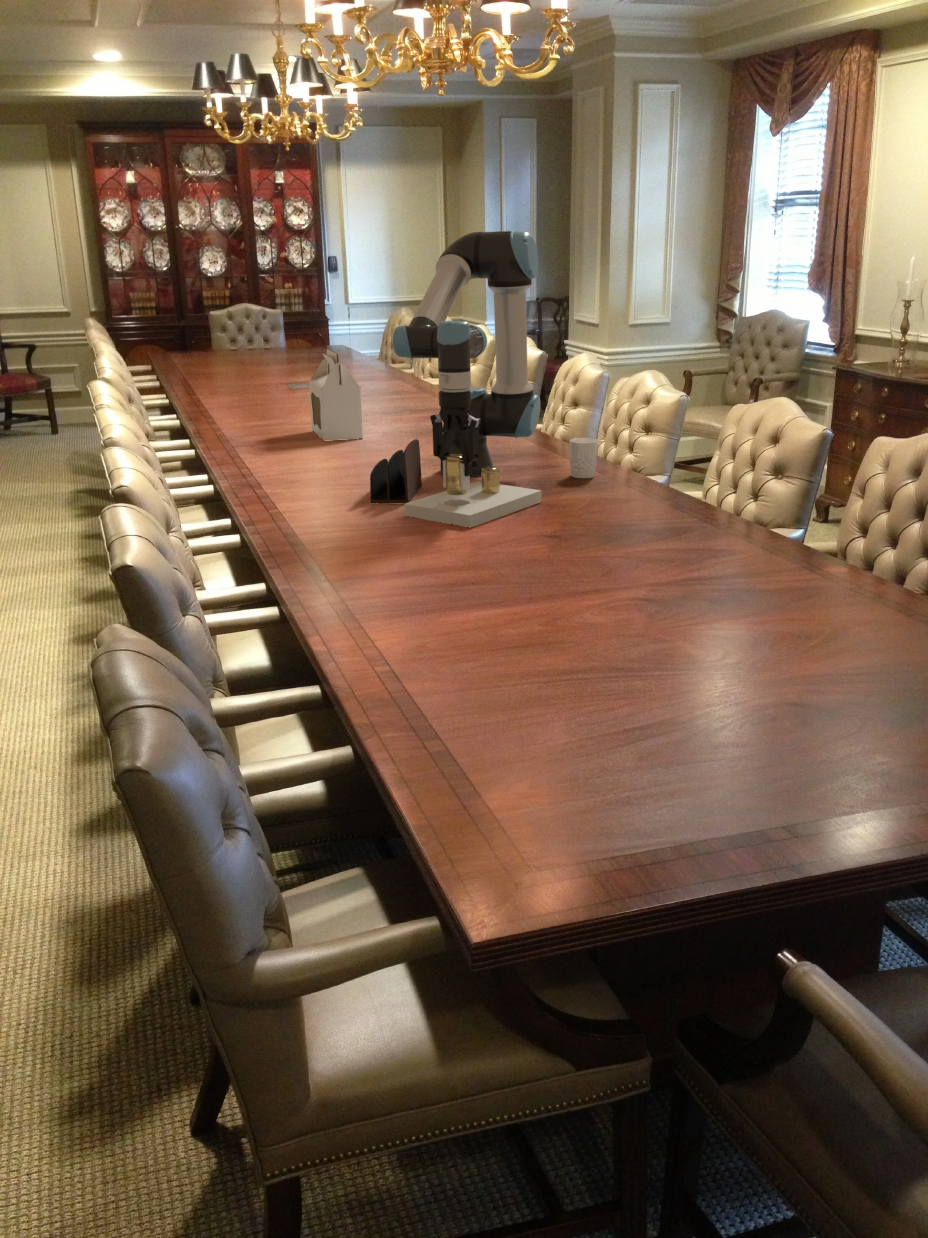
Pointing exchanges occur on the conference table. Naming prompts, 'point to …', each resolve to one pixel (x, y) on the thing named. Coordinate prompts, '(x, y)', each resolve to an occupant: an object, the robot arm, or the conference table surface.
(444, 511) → the jig plate
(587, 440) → the white cup
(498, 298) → the robot arm
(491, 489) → the cylinder
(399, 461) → the letter holder
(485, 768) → the conference table surface
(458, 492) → the loose bushing
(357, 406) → the gable box
